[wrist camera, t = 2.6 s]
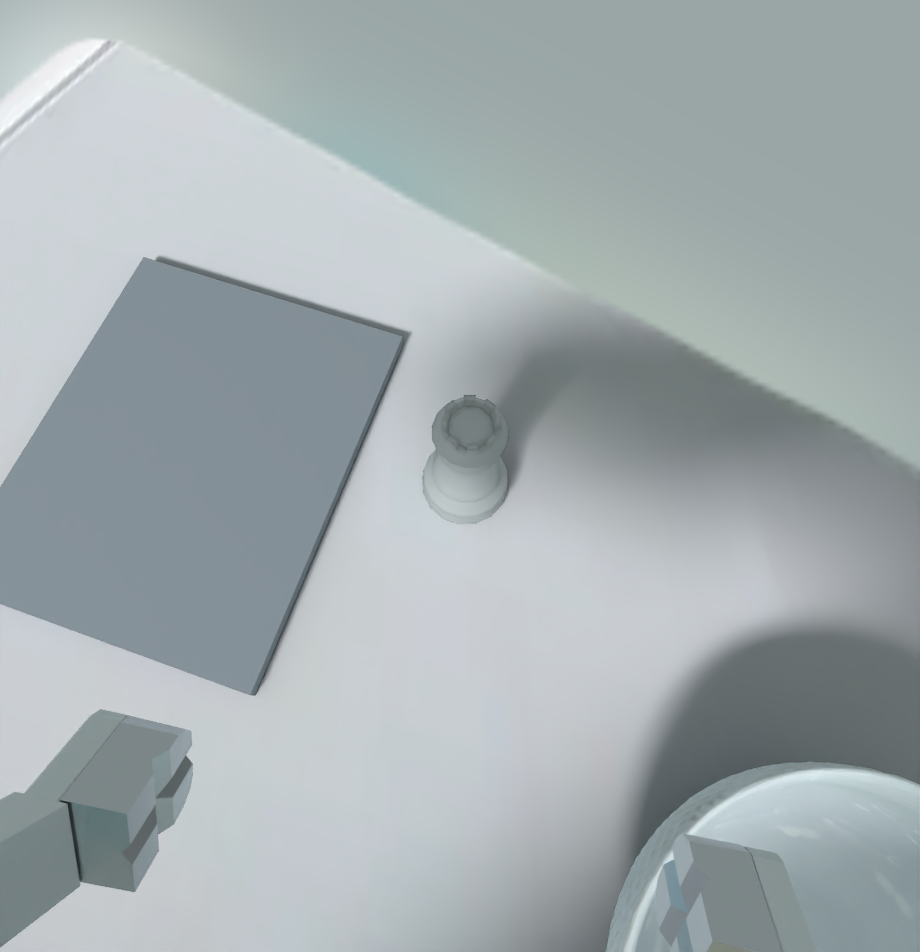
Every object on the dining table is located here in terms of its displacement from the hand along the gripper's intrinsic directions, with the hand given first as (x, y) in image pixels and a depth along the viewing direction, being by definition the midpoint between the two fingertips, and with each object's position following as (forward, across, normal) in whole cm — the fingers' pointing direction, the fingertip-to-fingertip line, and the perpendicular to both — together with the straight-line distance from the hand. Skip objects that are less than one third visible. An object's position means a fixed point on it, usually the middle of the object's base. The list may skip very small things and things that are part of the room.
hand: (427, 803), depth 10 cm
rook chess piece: (+23, +1, +6) cm, 24 cm away
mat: (+22, +15, +6) cm, 27 cm away
